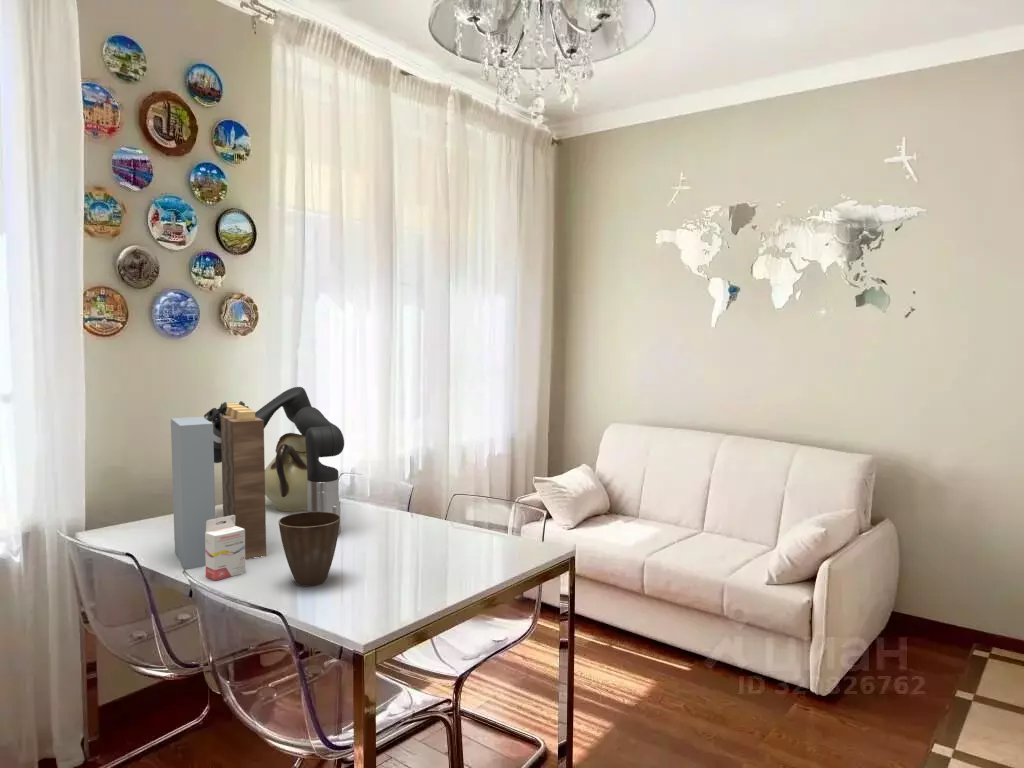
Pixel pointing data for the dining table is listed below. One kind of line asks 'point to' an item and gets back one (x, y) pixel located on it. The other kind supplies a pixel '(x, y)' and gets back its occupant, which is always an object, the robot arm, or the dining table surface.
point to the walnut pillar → (245, 480)
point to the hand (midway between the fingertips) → (233, 404)
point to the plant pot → (309, 544)
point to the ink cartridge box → (224, 548)
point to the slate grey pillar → (192, 487)
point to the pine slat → (240, 412)
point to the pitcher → (288, 474)
